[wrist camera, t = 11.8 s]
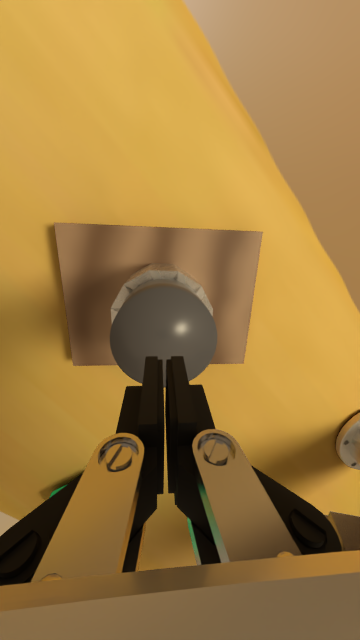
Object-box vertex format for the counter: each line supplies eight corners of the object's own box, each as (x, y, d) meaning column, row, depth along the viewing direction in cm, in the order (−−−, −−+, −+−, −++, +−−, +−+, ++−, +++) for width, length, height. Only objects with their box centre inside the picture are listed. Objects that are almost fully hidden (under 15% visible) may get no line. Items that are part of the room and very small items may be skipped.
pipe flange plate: (254, 232, 24) (297, 228, 17) (238, 355, 29) (265, 395, 22) (62, 224, 23) (14, 215, 15) (79, 357, 27) (48, 400, 20)
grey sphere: (201, 274, 20) (222, 289, 14) (197, 344, 23) (212, 386, 16) (123, 272, 20) (105, 287, 13) (126, 344, 22) (113, 388, 15)
